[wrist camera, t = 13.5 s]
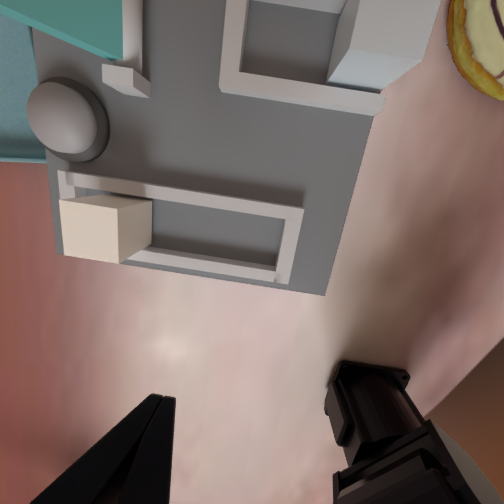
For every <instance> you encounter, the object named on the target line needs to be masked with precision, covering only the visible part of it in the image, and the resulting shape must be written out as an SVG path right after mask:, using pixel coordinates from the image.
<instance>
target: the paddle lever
mask: <svg viewBox="0 0 504 504" xmlns="http://www.w3.org/2000/svg"><path fill="white" fill-rule="evenodd" d="M142 12H143V0H0V13H1V14H3V15H5V16H8V17H10V18H12V19H15V20H17V21H19V22H22V23H24V24H26V25H29V26H31V27H33V28H35V29H38V30H40V31H42V32H45V33H47V34H49V35H52V36H54V37H56V38H59V39H61V40H63V41H66V42H68V43H70V44H73V45H75V46H77V47H79V48H82V49H84V50H86V51H89V52H91V53H93V54H96V55H98V56H100V57H103V58H105V59H107V60H110V61H112V62H113V65H114V66H120V67H126V68H133V69H134V70H135V71H137V72H138V73H139V74H140V75H142Z"/></svg>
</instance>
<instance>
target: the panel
mask: <svg viewBox="0 0 504 504" xmlns="http://www.w3.org/2000/svg"><path fill="white" fill-rule="evenodd" d="M347 1H348V0H143V12H142V75H140V74H139V73H138V72H137V71H135V70H134V69H133V68H126V67H120V66H114V65H113V62H112V61H110V60H107V59H105V58H103V57H100V56H98V55H96V54H93V53H91V52H89V51H86V50H84V49H82V48H79V47H77V46H75V45H73V44H70V43H68V42H66V41H63V40H61V39H59V38H56V37H54V36H52V35H49V34H47V33H45V32H42V31H40V30H38V29H35V28H33V27H32V33H33V42H34V51H35V60H36V69H37V78H38V86H37V87H35V88H34V89H33V91H32V92H31V93H30V95H29V98H28V101H27V117H28V121H29V124H30V127H31V129H32V131H33V132H34V134H35V135H36V137H37V138H38V139H39V141H40V142H41V143H42V144H43V146H44V147H45V151H46V160H47V169H48V178H49V187H50V196H51V206H52V215H53V224H54V233H55V242H56V251H57V254H61V255H64V247H63V237H62V227H61V217H60V207H59V200H61V199H69V198H78V197H86V196H94V195H103V194H112V195H118V196H124V197H131V198H137V199H143V200H150V201H152V241H151V244H150V245H149V246H147V247H145V248H144V249H142V250H140V251H139V252H137V253H135V254H134V255H132V256H131V257H129V258H127V259H126V260H124V261H122V262H121V263H119V264H125V265H131V266H138V267H144V268H150V269H157V270H163V271H169V272H176V273H182V274H188V275H195V276H201V277H208V278H214V279H220V280H227V281H233V282H239V283H246V284H252V285H258V286H265V287H271V288H277V289H284V290H290V291H297V292H303V293H309V294H316V295H322V296H325V293H326V289H327V286H328V282H329V278H330V275H331V271H332V267H333V264H334V260H335V256H336V253H337V249H338V245H339V242H340V238H341V234H342V231H343V227H344V223H345V220H346V216H347V212H348V209H349V205H350V201H351V198H352V194H353V190H354V187H355V183H356V179H357V176H358V172H359V168H360V165H361V161H362V158H363V154H364V150H365V147H366V143H367V139H368V136H369V132H370V128H371V125H372V121H373V117H374V116H375V115H377V114H379V113H381V112H382V109H383V106H384V102H385V99H386V95H383V94H380V92H381V91H380V92H378V93H375V92H368V91H362V90H356V89H349V88H343V87H337V86H330V85H325V83H326V78H327V73H328V69H329V64H330V59H331V54H332V50H333V45H334V40H335V35H336V30H337V26H338V21H339V17H340V15H341V13H342V11H343V9H344V7H345V5H346V3H347Z"/></svg>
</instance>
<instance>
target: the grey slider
mask: <svg viewBox="0 0 504 504" xmlns="http://www.w3.org/2000/svg"><path fill="white" fill-rule="evenodd" d="M440 3H441V0H348V1H347V3H346V5H345V7H344V9H343V11H342V13H341V15H340V17H339V21H338V26H337V30H336V35H335V40H334V45H333V50H332V54H331V59H330V64H329V69H328V73H327V78H326V83H325V85H330V86H337V87H343V88H349V89H356V90H362V91H368V92H375V93H378V92H380V91H381V90H383V89H384V88H385V87H387V86H388V85H390V84H391V83H392V82H394V81H395V80H396V79H398V78H399V77H401V76H402V75H403V74H405V73H406V72H408V71H409V70H410V69H412V68H413V67H414V66H416V65H417V64H419V63H420V62H421V61H423V58H424V54H425V51H426V48H427V45H428V41H429V38H430V35H431V32H432V28H433V25H434V22H435V19H436V16H437V12H438V9H439V6H440Z"/></svg>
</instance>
